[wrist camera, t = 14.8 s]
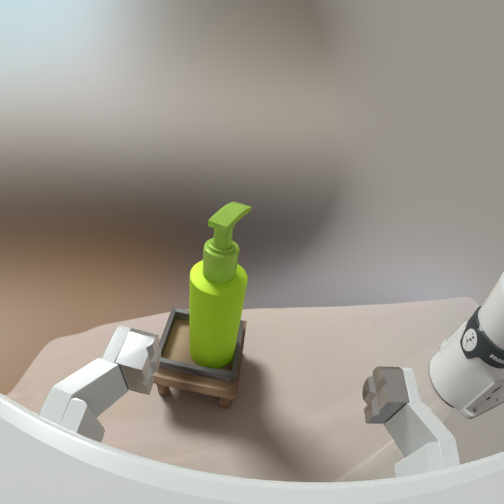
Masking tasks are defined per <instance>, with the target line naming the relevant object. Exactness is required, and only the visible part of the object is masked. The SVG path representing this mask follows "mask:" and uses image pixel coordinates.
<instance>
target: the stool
mask: <svg viewBox="0 0 504 504" xmlns="http://www.w3.org/2000/svg"><path fill="white" fill-rule="evenodd" d="M246 322H247V321H243V320H240V325H239V330H238V336H237V341H236V347H235V353H234V357H233V359H232V361H231V362H230V363H229V364H228V365H226V366H225V367H222V368H219V369H214V368H209V367H204V366H200V365H198V364H197V363H196V362H195V361H194V360H193V359H192V357H191V355H190V340H189V311H188V310H183V309H177V308H172V310H171V313H170V316H169V318H168V321H167V324H166V326H165V329H164V332H163V334H162V337H161V340H160V342H159V345H158V346H159V347H160V348H161V360H160V365H159V368H158V371H157V372H155V373H154V374H153V378H154V383H156V384H157V387H158V392H159V394H160V395H163V396H166V395H168V394H169V392H170V390H169V387H172V388H177V389H181V390H186V391H191V392H196V393H201V394H206V395H211V396H217V397H220V398H219V405H220V407H222V408H228V407H229V406H230V404H231V399H235V398H236V394H237V387H238V380H239V373H240V366H241V359H242V351H243V344H244V337H245V330H246Z"/></svg>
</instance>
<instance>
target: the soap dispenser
mask: <svg viewBox="0 0 504 504" xmlns="http://www.w3.org/2000/svg"><path fill="white" fill-rule="evenodd" d="M251 208H252V207H250V206H246V205H243V204H240V203H237V202H232V203H229V204H227V205H226V206H224V207H223V208H221V209H220V210H219V211H218V212H217V213H216V214H215V215H214V216H213V217H211V218H210V219H209V220H208V226H209V227H212V228H215V229H214V238H212V239H210V240H208V241H207V242H206V243H205V245H204V254H203V255H204V256H203V260H202V261H200V262H198V263H197V264H195V265H194V266H193V268H192V269H191V272H190V306H189V340H190V355H191V357H192V359H193V360H194V361H195V362H196V363H197V364H198V365H200V366H204V367H209V368H214V369H219V368H222V367H225V366H226V365H228V364H229V363H230V362H231V361H232V359H233V357H234V353H235V347H236V341H237V336H238V330H239V325H240V319H241V313H242V308H243V302H244V296H245V291H246V285H247V274H246V272H245V270H244V269H243V268H242V267H241V266H240V265H238V264H237V262H238V256H239V246H238V245H237V243H235V242H234V241H233V240H232V234H233V226H234V224H236V223H237V221H239V220H240V219H241V218H242V217H243V216H244V215H245V214H247V213H249V212H250V210H251Z"/></svg>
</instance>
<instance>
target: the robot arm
mask: <svg viewBox="0 0 504 504" xmlns="http://www.w3.org/2000/svg"><path fill="white" fill-rule="evenodd" d="M159 341H160V340H159V335H156V334H152V333H148V332H144V331H140V330H136V329H133V328H129V327H126V326H122V325H120V326H119V327H118V328H117V329H116V331H115V333H114V335H113V337H112V339H111V341H110V343H109V345H108V347H107V349H106V351H105V353H104V355H103V357H102V359H100V358H97V359H96V360H94V361H93V362H91V363H89V364H88V365H86V366H85V367H83V368H81V369H80V370H78V371H77V372H75V373H73V374H72V375H70V376H69V377H67V378H65V379H64V380H62V381H61V382H59V383H57V384H56V385H54V386H53V387H52V388H51V390H50V392H49V394H48V396H47V399H46V401H45V403H44V405H43V407H42V409H41V411H40V413H39V415H38V414H36V413H34V412H32V411H30V410H29V409H27V408H25V407H23V406H21V405H20V404H18V403H16V402H14V401H13V400H11V399H9V398H8V397H6V396H4V395H3V394H1V393H0V504H504V451H503V452H500V453H497V454H494V455H491V456H488V457H485V458H482V459H478V460H475V461H472V462H468V463H465V464H461V465H460V462H459V457H458V451H457V446H456V441H455V438H454V436H453V435H452V434H451V433H450V432H449V431H448V429H447V428H446V427H445V426H444V425H443V424H442V422H441V421H440V420H439V419H438V418H437V417H436V415H435V414H434V413H433V412H432V411H431V410H430V409H429V407H428V406H427V405H426V404H425V403H424V402H421V400H420V396H419V391H418V387H417V383H416V379H415V375H414V371H413V370H412V368H400V367H376V368H375V369H374V371H373V375H372V376H370V377H368V378H367V380H366V381H365V383H364V386H363V400H364V401H365V402H366V403H367V405H366V407H365V409H364V411H365V420H366V423H374V424H384V425H385V427H386V429H387V430H388V432H389V433H390V435H391V436H392V438H393V439H394V441H395V443H396V444H397V446H398V447H399V449H400V450H401V452H402V453H403V455H404V457H405V458H404V459H402V460H401V461H399V462H397V463H396V464H395V465H394V466H395V477H394V478H386V479H376V480H365V481H350V482H287V481H271V480H260V479H250V478H242V477H234V476H227V475H221V474H215V473H209V472H204V471H199V470H194V469H189V468H184V467H180V466H176V465H171V464H167V463H164V462H160V461H156V460H152V459H149V458H145V457H142V456H139V455H135V454H132V453H129V452H126V451H123V450H120V449H117V448H114V447H111V446H109V445H106V444H103V443H101V441H102V438H103V435H104V432H105V430H104V427H103V426H102V425H101V423H100V422H99V421H98V419H97V418H96V417H98V416H99V415H100V414H101V413H103V412H104V411H105V410H106V409H107V408H109V407H110V406H111V405H112V404H113V403H115V402H116V401H117V400H118V399H119V398H121V397H122V396H123V395H124V394H125V393H127V392H128V390H131V391H135V392H139V393H143V394H147V395H149V394H150V391H151V388H152V386H153V383H154V378H153V374H154V373H155V372H157V371H158V368H159V365H160V360H161V348H160V347H159V346H158V344H159ZM430 377H431V380H432V383H433V385H434V387H435V389H436V391H437V392H438V394H439V395H440V396H441V397H442V398H443V399H444V400H445V401H446V402H447V403H449V404H450V405H452V406H453V407H455V408H457V409H458V410H459V411H460V412H461V413H462V414H463V415H464V416H465V417H466V418H467V419H472V418H474V417H476V416H478V415H480V414H482V413H484V412H486V411H488V410H490V409H492V408H494V407H496V406H498V405H500V404H502V403H503V402H504V272H503V274H502V275H501V277H500V279H499V280H498V282H497V284H496V285H495V287H494V288H493V290H492V291H491V293H490V294H489V296H488V297H487V299H486V301H485V302H484V303H483V305H482V306H480V307H478V309H477V310H476V311H475V312H474V313H473V314H472V316H471V318H470V319H469V321H468V322H465V323H464V324H463V325H462V326H461V327H460V328H459V329H458V330H457V331H456V333H455V334H454V335H453V336H452V337H451V338H450V339H449V340H448V339H445V340H444V341H443V342H442V343H441V346H440V350H439V351H438V352H437V353H436V354H435V355H434V356H433V358H432V359H431V362H430Z"/></svg>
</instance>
